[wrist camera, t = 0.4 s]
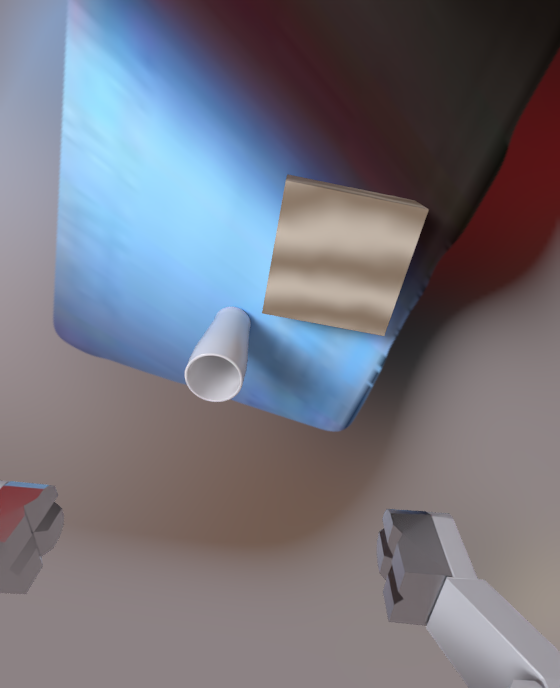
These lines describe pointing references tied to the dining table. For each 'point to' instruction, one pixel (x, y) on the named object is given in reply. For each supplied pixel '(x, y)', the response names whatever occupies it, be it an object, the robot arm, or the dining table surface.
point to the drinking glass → (220, 357)
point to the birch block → (341, 255)
